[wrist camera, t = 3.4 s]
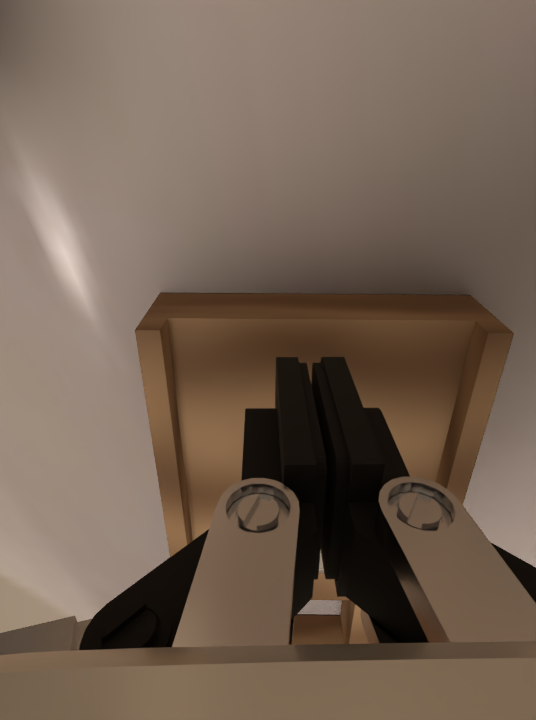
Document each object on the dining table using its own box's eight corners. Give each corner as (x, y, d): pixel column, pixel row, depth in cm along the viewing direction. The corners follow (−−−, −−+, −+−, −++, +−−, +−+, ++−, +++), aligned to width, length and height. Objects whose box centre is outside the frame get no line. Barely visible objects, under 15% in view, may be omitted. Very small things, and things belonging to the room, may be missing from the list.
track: (160, 292, 17) (134, 330, 14) (470, 295, 17) (514, 333, 14) (202, 644, 28) (193, 707, 25) (387, 646, 28) (400, 710, 25)
